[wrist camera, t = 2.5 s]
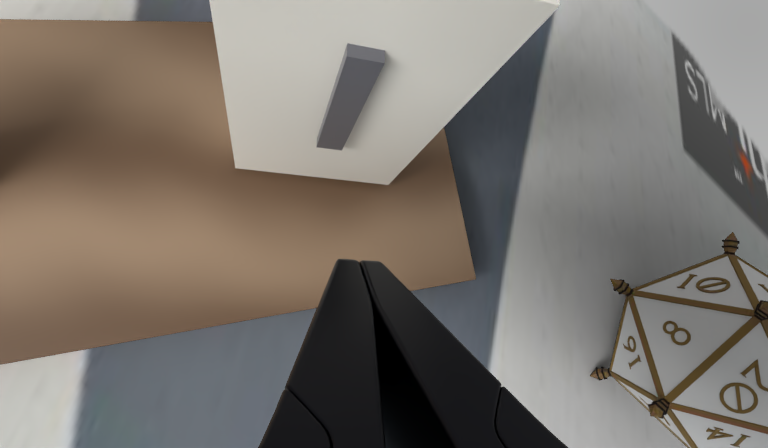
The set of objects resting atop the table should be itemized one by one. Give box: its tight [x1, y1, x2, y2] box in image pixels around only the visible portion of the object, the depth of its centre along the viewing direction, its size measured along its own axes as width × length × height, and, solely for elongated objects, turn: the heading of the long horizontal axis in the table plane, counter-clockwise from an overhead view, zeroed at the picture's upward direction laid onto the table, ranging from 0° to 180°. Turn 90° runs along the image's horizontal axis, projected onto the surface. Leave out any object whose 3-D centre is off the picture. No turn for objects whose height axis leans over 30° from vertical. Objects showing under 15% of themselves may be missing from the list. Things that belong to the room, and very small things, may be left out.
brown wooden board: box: [0, 19, 476, 365], centre depth 16 cm, size 12×26×1 cm, turn 100°
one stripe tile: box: [209, 0, 560, 185], centre depth 12 cm, size 2×6×11 cm, turn 88°
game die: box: [590, 232, 768, 448], centre depth 18 cm, size 9×8×10 cm
